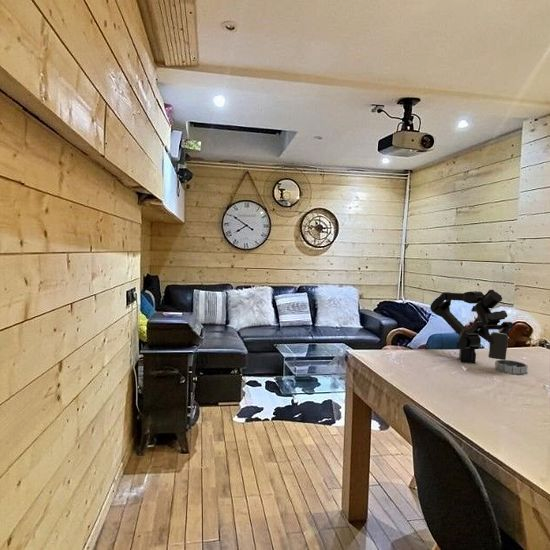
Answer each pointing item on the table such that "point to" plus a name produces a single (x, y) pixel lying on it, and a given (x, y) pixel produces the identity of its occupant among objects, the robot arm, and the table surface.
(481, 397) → the table surface
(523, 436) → the table surface
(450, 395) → the table surface
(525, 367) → the grey faceted round container
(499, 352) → the battery charger
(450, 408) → the table surface
